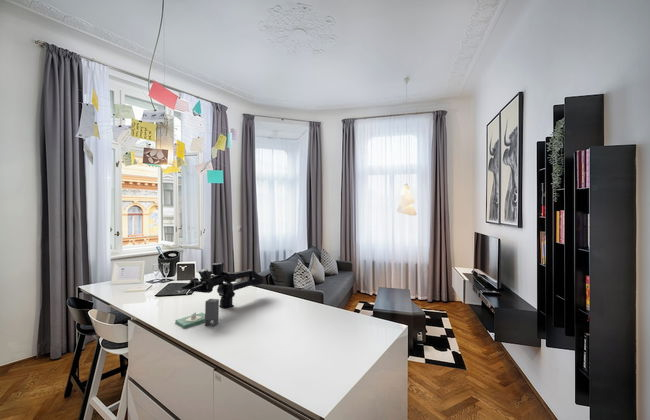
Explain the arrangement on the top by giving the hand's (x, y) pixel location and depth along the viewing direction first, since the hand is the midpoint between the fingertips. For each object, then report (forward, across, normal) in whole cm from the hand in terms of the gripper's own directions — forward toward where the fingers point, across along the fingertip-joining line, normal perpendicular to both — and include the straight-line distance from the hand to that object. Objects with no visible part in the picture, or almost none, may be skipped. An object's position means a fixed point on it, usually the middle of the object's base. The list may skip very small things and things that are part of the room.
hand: (186, 288), depth 142 cm
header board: (0, +6, +16) cm, 17 cm away
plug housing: (-4, +17, +17) cm, 24 cm away
